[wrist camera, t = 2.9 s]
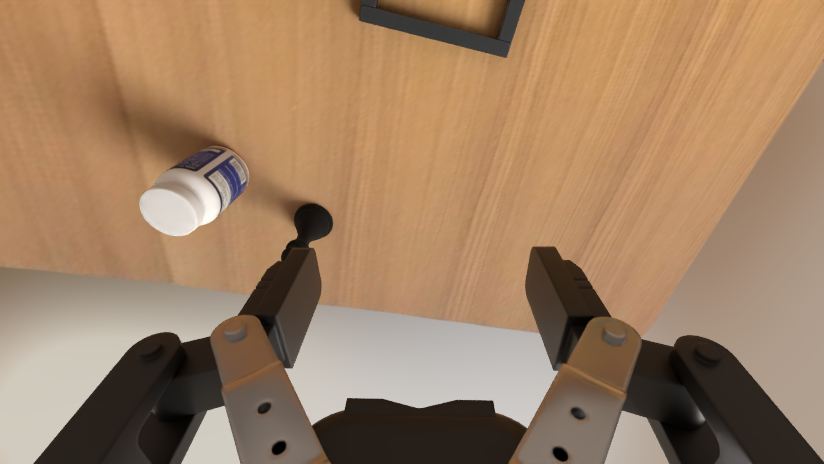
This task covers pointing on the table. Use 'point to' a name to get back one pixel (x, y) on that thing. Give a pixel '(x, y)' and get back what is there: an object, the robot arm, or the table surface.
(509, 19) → the dish rack
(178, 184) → the pill bottle
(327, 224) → the chess piece
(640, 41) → the table surface
